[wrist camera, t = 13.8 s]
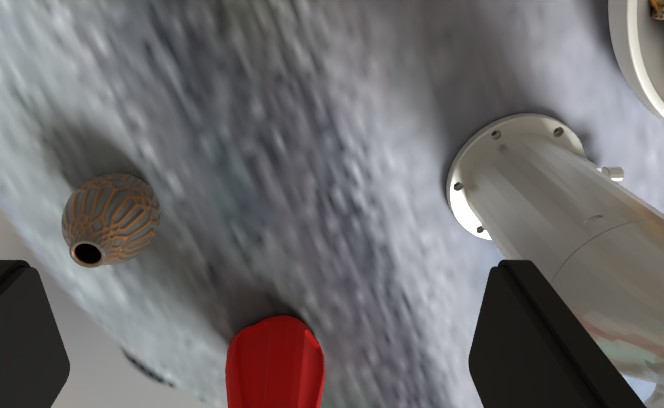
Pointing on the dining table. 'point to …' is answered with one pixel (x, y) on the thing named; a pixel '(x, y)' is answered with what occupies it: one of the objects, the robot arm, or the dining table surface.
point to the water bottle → (275, 366)
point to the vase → (110, 219)
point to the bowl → (640, 48)
